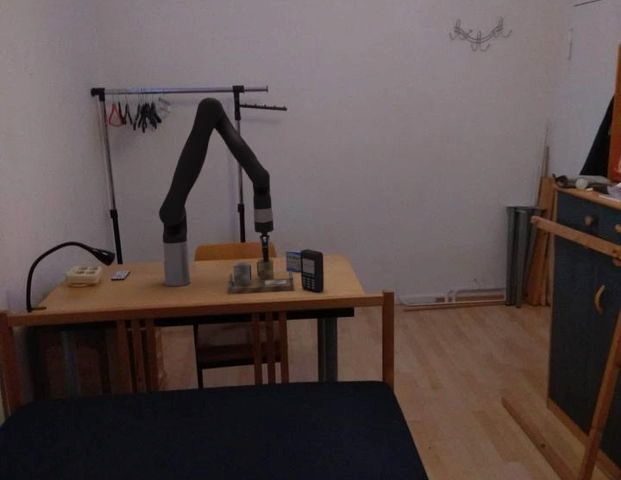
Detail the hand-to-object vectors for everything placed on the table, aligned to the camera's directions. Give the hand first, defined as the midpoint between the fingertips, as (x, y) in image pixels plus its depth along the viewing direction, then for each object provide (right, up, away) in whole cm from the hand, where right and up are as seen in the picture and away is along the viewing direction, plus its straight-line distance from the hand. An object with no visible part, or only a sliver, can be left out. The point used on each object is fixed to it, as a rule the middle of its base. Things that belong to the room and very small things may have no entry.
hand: (266, 259), depth 235 cm
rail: (-1, -11, -11) cm, 15 cm away
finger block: (0, -8, +2) cm, 8 cm away
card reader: (+18, -11, -14) cm, 26 cm away
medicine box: (+12, -5, +14) cm, 19 cm away
